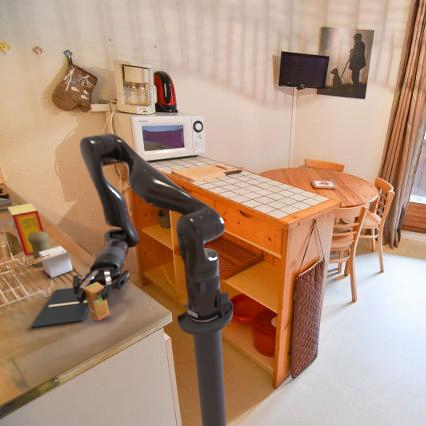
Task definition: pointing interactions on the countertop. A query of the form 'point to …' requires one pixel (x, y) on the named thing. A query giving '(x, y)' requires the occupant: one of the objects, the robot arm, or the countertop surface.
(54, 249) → the product carton
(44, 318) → the slate mat
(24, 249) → the baking soda box
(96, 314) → the supplement box
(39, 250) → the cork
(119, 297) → the countertop surface
